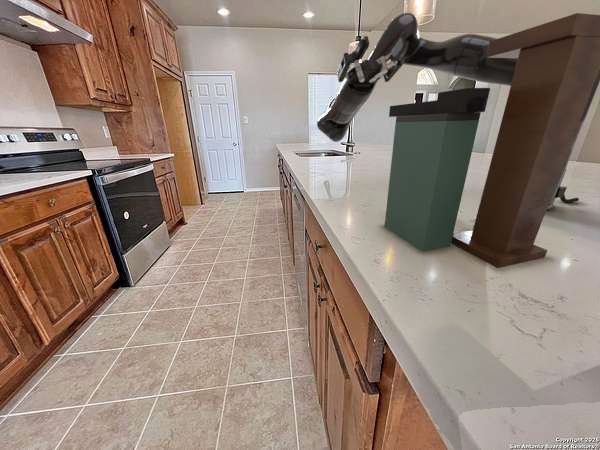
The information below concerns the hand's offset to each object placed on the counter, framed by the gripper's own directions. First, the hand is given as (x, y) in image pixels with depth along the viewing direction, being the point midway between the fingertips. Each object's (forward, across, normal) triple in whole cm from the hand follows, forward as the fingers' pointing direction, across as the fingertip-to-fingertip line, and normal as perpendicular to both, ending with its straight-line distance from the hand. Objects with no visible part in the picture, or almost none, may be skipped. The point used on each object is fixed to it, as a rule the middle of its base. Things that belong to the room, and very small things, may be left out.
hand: (385, 40), depth 50 cm
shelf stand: (+3, +9, +44) cm, 45 cm away
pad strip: (+6, 0, +20) cm, 21 cm away
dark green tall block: (-4, 0, +40) cm, 40 cm away
